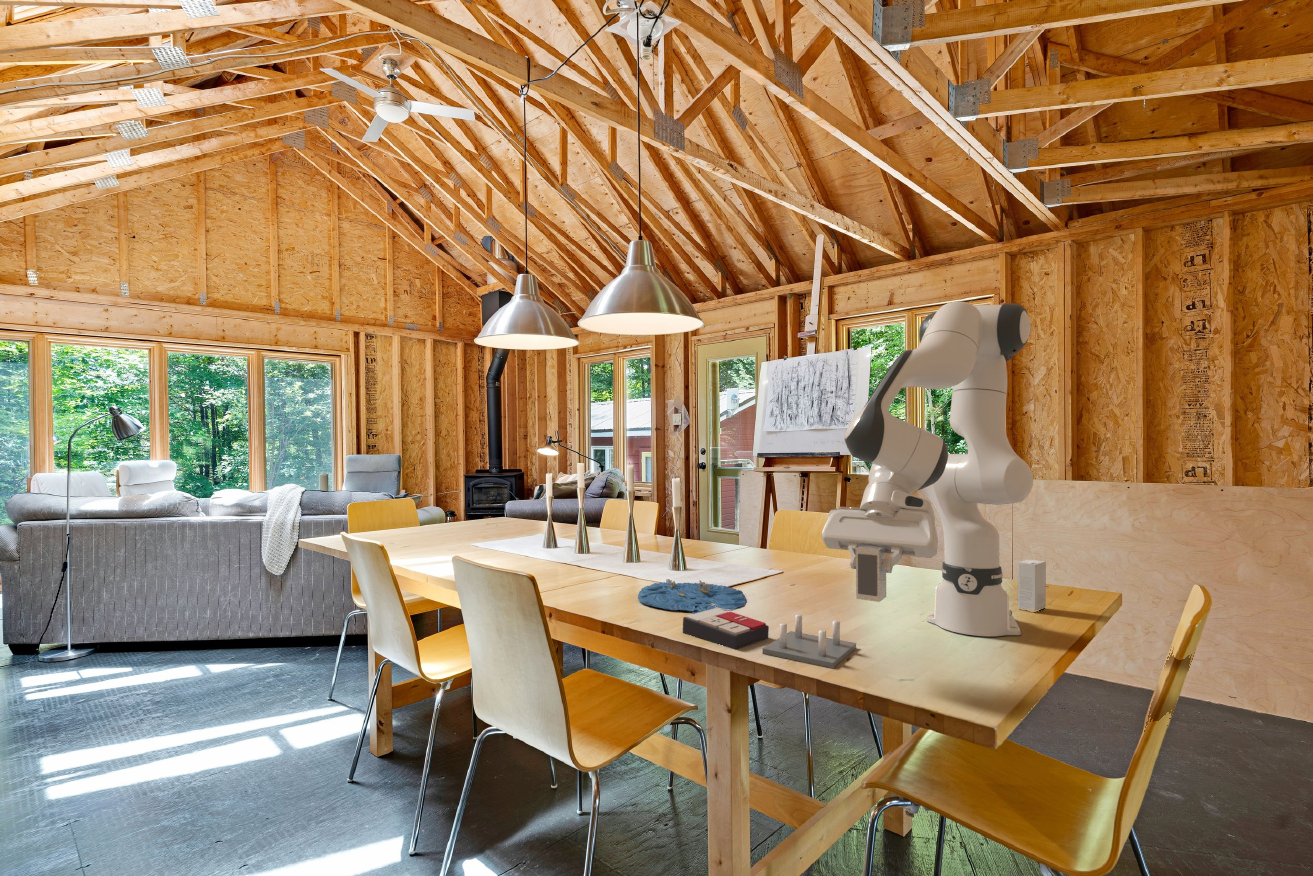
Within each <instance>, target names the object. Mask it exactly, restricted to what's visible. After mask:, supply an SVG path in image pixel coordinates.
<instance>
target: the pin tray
mask: <svg viewBox="0 0 1313 876" xmlns="http://www.w3.org/2000/svg"><path fill="white" fill-rule="evenodd" d="M794 621H795V622H794V630H795V631H792V630H790V631H789V632H788V624H787V623H779V637H778V638H777V639H775V640H774V641H772V642H771V643H769V644H767V645H765V646H764V647H763V648H762V651H761V652H762V655H768V656H772V657H777V658H782V659H786V658H787V660H792V661H795V660H796V662H801V663H805V664H811V665H815V666H819V667H820V666H821V667H824V668H829V669H834V668H835V667H836V666H837V665H838V664H840V663H841V662H843V660H845V659H846V658H847V657H848V656H849V655H850V654H852V652H854V650H856V649H857V642H852V641H848V640H841V621H840V620H832V638H829V637H827V630H824V629H820V630H818V635H813V634H808V633H803V615H802V614H797V613H796V614H795V617H794Z"/></svg>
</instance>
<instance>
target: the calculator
mask: <svg viewBox="0 0 1313 876" xmlns="http://www.w3.org/2000/svg"><path fill="white" fill-rule="evenodd" d="M769 626H770V625H767V624H766V622H763V621H761V620H757V619H754V618H751V617H748V616H746V615H743V614H739V613H736V612H733V611H724V610H721V608H718V607H716V608H714V609H710V610H707V611H703V612H699V613H691V614H687V615H686V616H684V617H683V618H682V634H685V635H687V636H690V635H691V637H695V638H701V639H703V640H705V641H709V642H711V643H713V644H716V645H719V644H720V645H719V646H722V645H723V647H725V648H729V649H731V650H739V649H741V648H745V647H747V646H751V645H753V644H756V643H759V642H762V641H765V640H767V639H769V629H770V627H769Z"/></svg>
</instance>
